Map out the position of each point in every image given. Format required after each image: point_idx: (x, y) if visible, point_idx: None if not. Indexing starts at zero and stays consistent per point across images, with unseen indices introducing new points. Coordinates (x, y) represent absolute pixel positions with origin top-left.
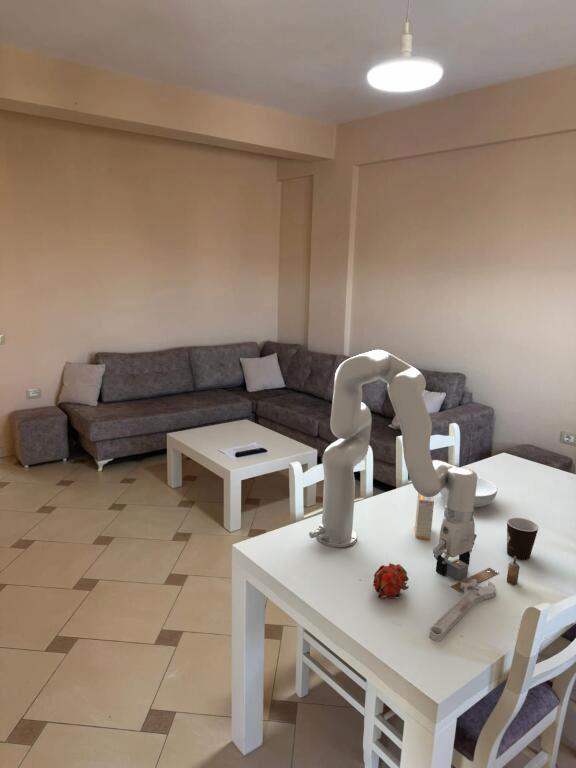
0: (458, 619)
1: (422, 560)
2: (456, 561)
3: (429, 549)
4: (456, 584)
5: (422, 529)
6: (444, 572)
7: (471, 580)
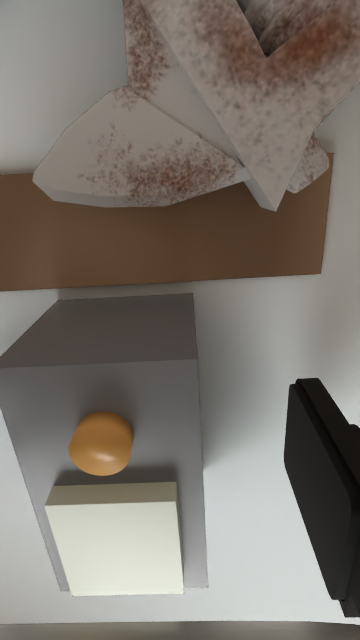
0: None
1: None
2: (86, 481)
3: (68, 612)
4: (248, 265)
5: None
6: (334, 412)
7: (114, 184)
